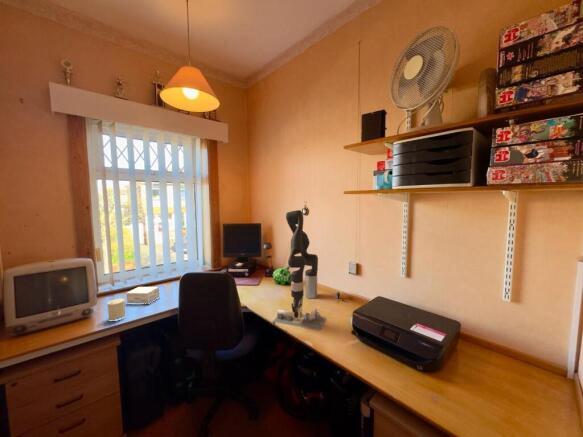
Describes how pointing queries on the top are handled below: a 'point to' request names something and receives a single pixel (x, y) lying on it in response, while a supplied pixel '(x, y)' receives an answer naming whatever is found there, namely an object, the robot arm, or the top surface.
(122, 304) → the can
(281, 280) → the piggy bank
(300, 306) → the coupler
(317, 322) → the shaft base
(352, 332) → the hand tool
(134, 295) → the supplement box
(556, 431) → the top surface
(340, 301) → the top surface
